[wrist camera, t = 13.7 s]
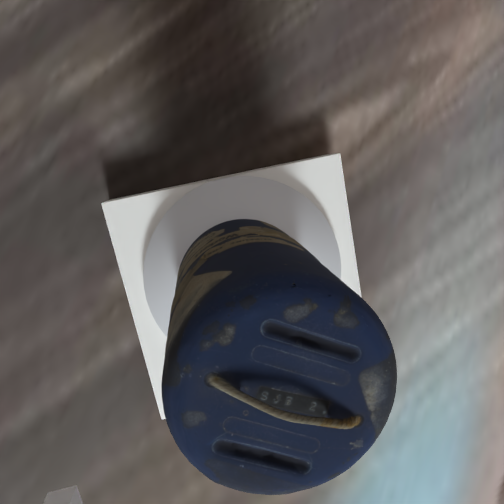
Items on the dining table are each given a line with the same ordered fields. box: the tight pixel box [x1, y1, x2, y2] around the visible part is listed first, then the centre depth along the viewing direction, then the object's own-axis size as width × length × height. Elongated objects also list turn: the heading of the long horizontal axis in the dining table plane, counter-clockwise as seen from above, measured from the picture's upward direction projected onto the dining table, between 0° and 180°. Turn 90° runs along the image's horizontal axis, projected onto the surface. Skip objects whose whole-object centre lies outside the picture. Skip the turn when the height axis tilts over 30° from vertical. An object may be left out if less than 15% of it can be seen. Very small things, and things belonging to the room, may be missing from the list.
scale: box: [101, 153, 362, 420], centre depth 32 cm, size 18×18×9 cm
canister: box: [161, 219, 397, 495], centre depth 24 cm, size 10×10×18 cm
